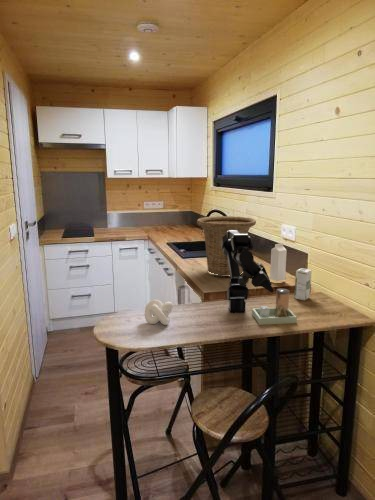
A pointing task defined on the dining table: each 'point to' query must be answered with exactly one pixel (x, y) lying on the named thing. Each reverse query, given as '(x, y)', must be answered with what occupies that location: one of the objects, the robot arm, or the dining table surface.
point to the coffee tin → (282, 302)
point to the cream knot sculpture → (158, 312)
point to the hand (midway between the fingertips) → (271, 288)
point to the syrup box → (302, 284)
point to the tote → (273, 317)
